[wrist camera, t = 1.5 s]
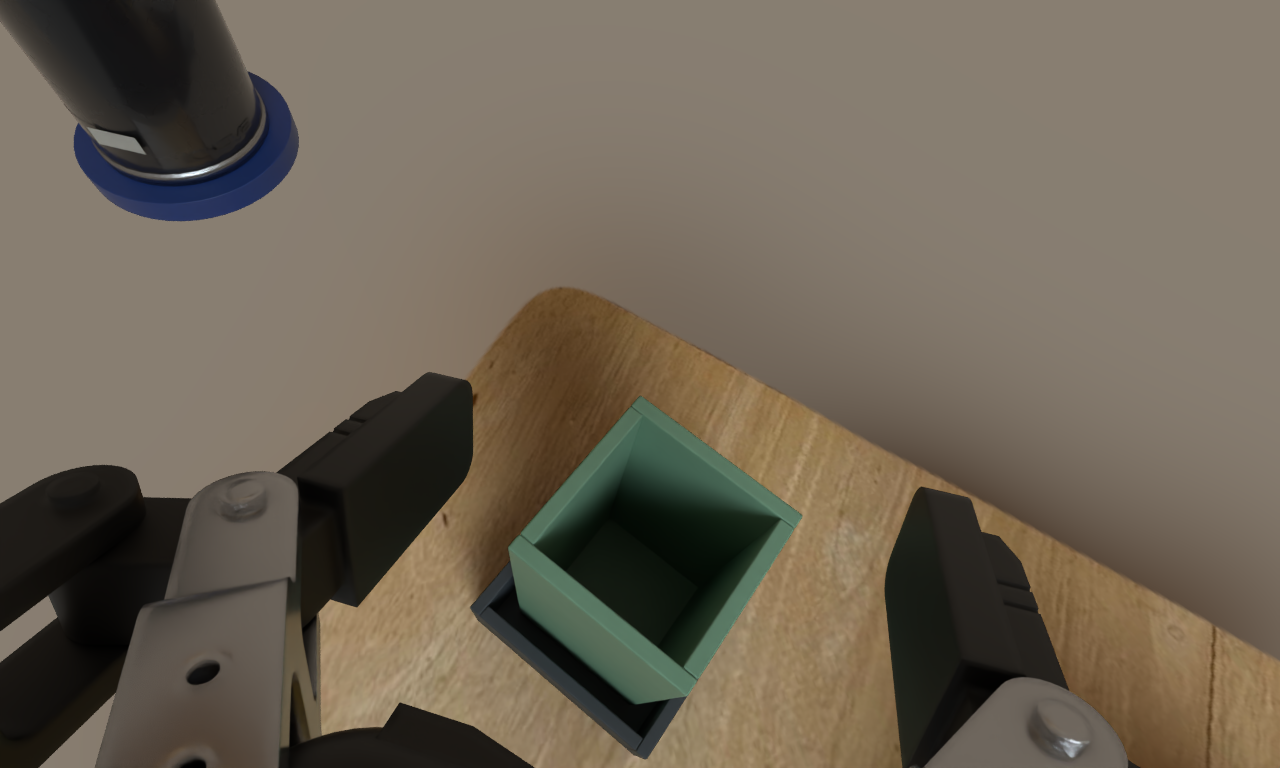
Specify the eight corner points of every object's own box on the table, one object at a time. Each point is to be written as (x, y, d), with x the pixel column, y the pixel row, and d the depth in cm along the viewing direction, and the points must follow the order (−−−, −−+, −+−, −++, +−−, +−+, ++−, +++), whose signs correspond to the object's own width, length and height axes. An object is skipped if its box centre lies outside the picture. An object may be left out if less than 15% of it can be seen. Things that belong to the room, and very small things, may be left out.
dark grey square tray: (476, 619, 29) (469, 607, 26) (600, 472, 32) (606, 447, 29) (634, 755, 27) (646, 760, 24) (745, 585, 31) (767, 570, 28)
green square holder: (519, 612, 28) (506, 547, 18) (606, 505, 31) (640, 394, 20) (630, 705, 27) (686, 697, 17) (710, 588, 30) (803, 515, 19)
